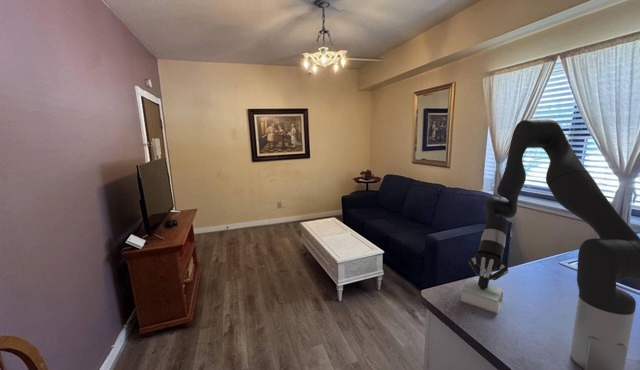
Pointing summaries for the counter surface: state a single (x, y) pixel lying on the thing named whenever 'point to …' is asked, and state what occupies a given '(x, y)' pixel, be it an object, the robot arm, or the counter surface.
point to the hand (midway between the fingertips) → (482, 288)
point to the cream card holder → (482, 302)
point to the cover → (483, 291)
